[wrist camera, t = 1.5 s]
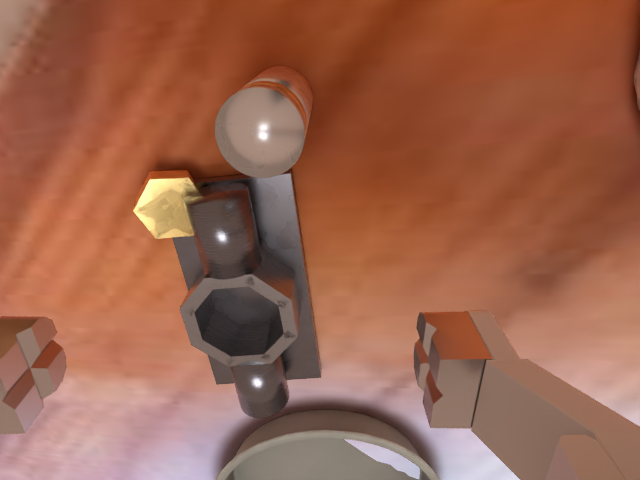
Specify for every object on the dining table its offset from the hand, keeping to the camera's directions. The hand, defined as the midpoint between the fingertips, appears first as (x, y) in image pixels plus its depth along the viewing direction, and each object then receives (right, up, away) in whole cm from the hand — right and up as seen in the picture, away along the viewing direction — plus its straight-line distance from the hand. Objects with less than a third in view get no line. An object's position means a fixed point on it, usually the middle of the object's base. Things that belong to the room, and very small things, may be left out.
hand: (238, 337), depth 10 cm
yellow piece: (-9, +5, +22) cm, 25 cm away
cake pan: (+3, -24, +39) cm, 46 cm away
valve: (-1, +12, +20) cm, 24 cm away
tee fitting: (-4, -2, +27) cm, 28 cm away
